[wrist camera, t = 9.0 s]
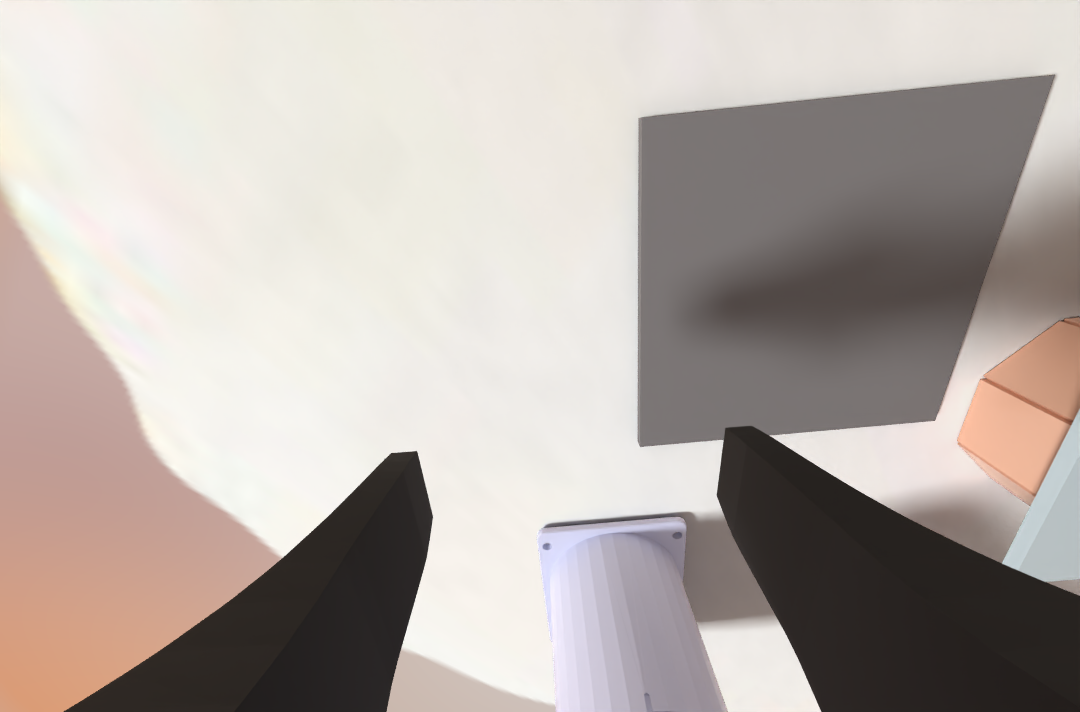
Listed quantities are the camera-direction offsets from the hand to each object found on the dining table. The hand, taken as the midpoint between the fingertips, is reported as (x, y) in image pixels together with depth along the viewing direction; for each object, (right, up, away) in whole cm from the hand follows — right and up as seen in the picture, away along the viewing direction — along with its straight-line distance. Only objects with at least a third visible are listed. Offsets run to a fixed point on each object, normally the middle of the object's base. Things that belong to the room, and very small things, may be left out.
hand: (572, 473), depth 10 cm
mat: (+10, +6, +8) cm, 14 cm away
